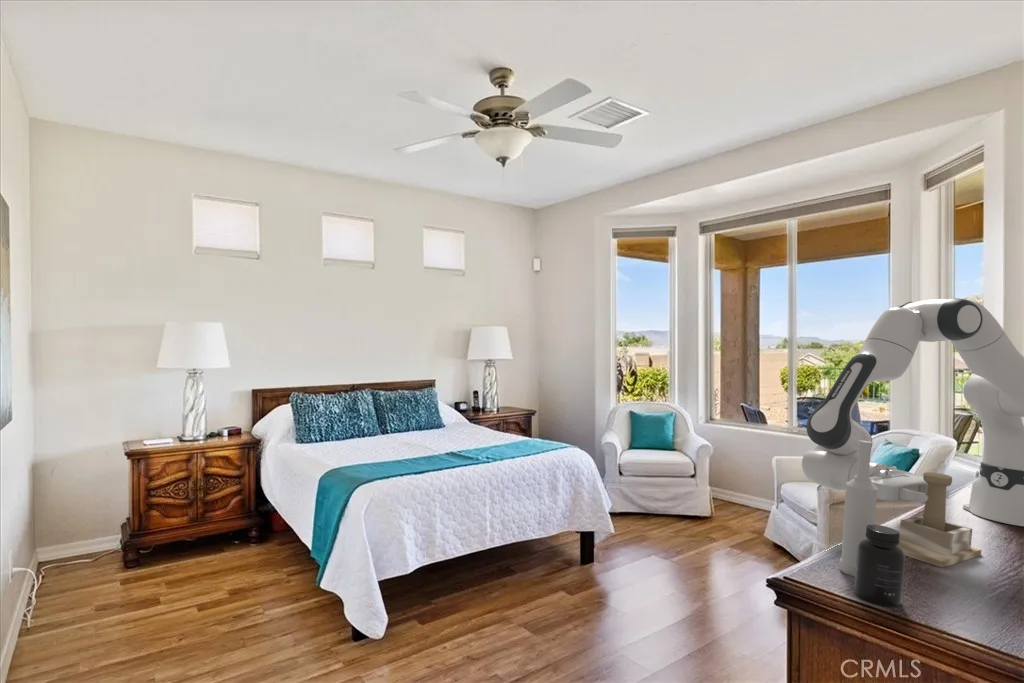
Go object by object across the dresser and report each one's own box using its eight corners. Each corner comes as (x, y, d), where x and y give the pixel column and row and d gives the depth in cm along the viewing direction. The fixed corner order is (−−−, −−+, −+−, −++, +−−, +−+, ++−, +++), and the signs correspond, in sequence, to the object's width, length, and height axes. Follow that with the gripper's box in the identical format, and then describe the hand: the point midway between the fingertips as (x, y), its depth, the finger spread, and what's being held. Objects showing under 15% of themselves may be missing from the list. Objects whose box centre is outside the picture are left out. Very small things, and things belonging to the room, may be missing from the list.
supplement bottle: (845, 587, 102) (851, 520, 101) (885, 591, 101) (891, 523, 101) (867, 606, 95) (873, 534, 94) (910, 610, 94) (916, 537, 94)
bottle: (847, 576, 106) (859, 443, 106) (833, 565, 112) (844, 437, 111) (876, 579, 106) (887, 445, 106) (860, 568, 111) (871, 440, 111)
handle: (948, 543, 126) (954, 476, 126) (942, 550, 122) (948, 479, 122) (922, 537, 130) (927, 471, 129) (915, 542, 125) (921, 474, 125)
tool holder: (918, 536, 134) (920, 512, 134) (981, 555, 124) (983, 529, 124) (878, 546, 125) (880, 521, 125) (942, 567, 115) (944, 540, 115)
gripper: (848, 469, 132) (915, 486, 120) (893, 464, 142) (959, 479, 131) (845, 497, 132) (912, 515, 120) (891, 489, 143) (956, 506, 131)
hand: (937, 496), depth 125 cm, fingers open, 8 cm apart
